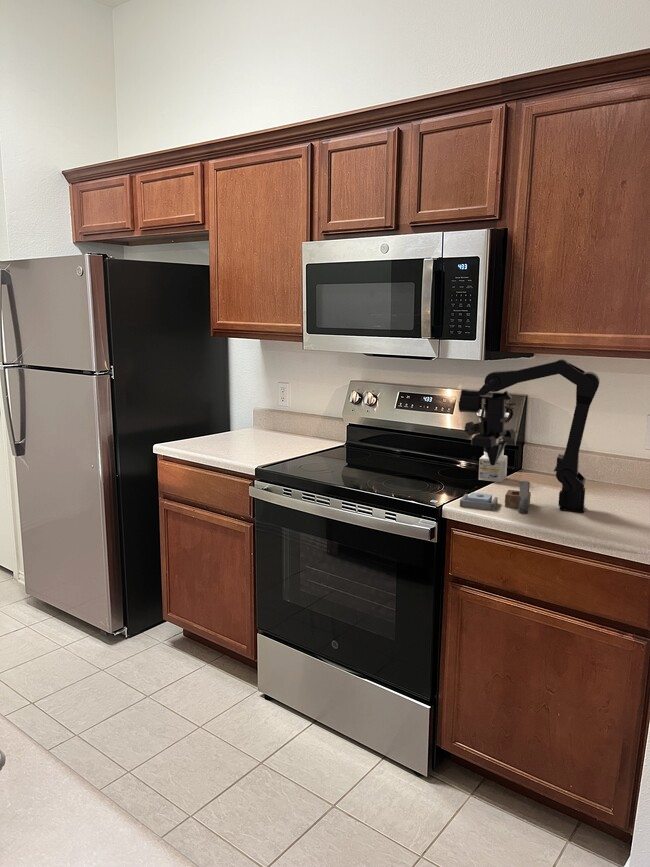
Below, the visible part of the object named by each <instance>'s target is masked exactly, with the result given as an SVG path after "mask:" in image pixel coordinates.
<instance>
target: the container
mask: <svg viewBox="0 0 650 867" xmlns="http://www.w3.org/2000/svg"><path fill="white" fill-rule="evenodd" d="M504 453H505V448H504V449H503V451H502V452H501V454H500V456H499V458H498V460H497V462H496V464H495V465H494V466H493V465H491V464H490V461H489V457H488V454H487V451H486V448H485V447H483V455H481V457H479V464H478V480H479V481H486V482H494V483H495V482H496V483H502V482H503V481H504V480H505V479H506V478H507V473H508V470H507V468H508V455H506V454H505V455H504Z"/></svg>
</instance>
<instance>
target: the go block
mask: <svg viewBox="0 0 650 867" xmlns="http://www.w3.org/2000/svg"><path fill="white" fill-rule="evenodd" d="M519 494H520V490H515V489H508V490H507V491H506V494H505V496H504V508H505V507H506V508H514V509H519ZM530 505H531V491H529V504H528V508H529V507H530Z"/></svg>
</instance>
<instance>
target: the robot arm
mask: <svg viewBox="0 0 650 867" xmlns="http://www.w3.org/2000/svg"><path fill="white" fill-rule="evenodd" d="M556 375H560V376H562V377H564V378H565V379H566V380H568V381H569V382H571V383H572V384H574V386H576V390H575V394H576V395H575V396H576V397H575V407H574V413H573V417H572V421H571V426H570V430H569V434H568V438H567V442H566V446H565V451H564V453H563V454H561V453H558V454H557V457H556V465H555V467H554V469H553V472H555V477H556V479H557V481H558V482H559V483H561V490H559V493H558V507H559V510H560V511H567V512H568V511H569V512H577V513H584V512H585V506H586V504H585V502H586V501H585V500H586V499H585V498H586V487H585V484H586V477H584V475H582V474H581V472H580V470H579V466H580V448H581V445H582V441H583V435H584V431H585V428H586V423H587V419H588V414H589V410H590V407H591V404H592V402H593V400H594V398H595V395H596V394H597V391H598V388H599V387H600V377H599V375H598V374H597V373H595V372H593V371H585V370H583V369H581V368H579V367H578V366H576V365H574V364H572V363H571V362H569V361H567V360H566V359H564V358H561V359H557V360H555V361H551V362H546V363H541V364H537V365H534V366H529V367H524V368H520V369H510V370H509V369H507V370H506V369H504V370H495V371H492V372H490V373H488V374H487V375H486V376H485V378H484V383H483V385H482V386H481V388H479V390H470V389H461V391H460V396H459V401H458V411H459V412H460V413H472V414H479V413H480V412H481V411H482V410H483V409H484V416H482V417H481V419H480V422H477V423H474V422H473V421H469V422H465V425H464V431H463V432H465V433H466V434H467V436H468V437H471V440H470V441H471V442H470V445H471V446H474V447H483V448H484V447H485V448H486V451H487V454H488V457H489V461H490V464H491V465H493V466H494V465H495V464H496V462H497V460H498V458H499V456H500V454H501V452H502V451H503V449H504V450H505V447H506V445H507V444H508V441H505V440H504V438H509V440H513V439H515V438H516V431H515V430H514V429H513V428H509V427H505V422H506V421H507V420H508V417H507V416H506V415H505V413H506V401H507V400H510V401H511V400H512V398H513V395H511V394H510V393H509V391H508V390H505V389H507V388H510V387H512V386H514V385H517V384H519V383H524V382H528V381H532V380H537V379H541V378H546V377H550V376H556ZM502 390H505V391H504V392H500V391H502ZM491 392H492V395H487V394H489V393H491Z"/></svg>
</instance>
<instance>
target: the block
mask: <svg viewBox="0 0 650 867" xmlns="http://www.w3.org/2000/svg"><path fill="white" fill-rule="evenodd" d="M467 501H476V502H485V503H491V502H492V501H493V494H489V493H482V492H481V493H480V492H473V491H472V492H471V493H470V494H468V498H467Z"/></svg>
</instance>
